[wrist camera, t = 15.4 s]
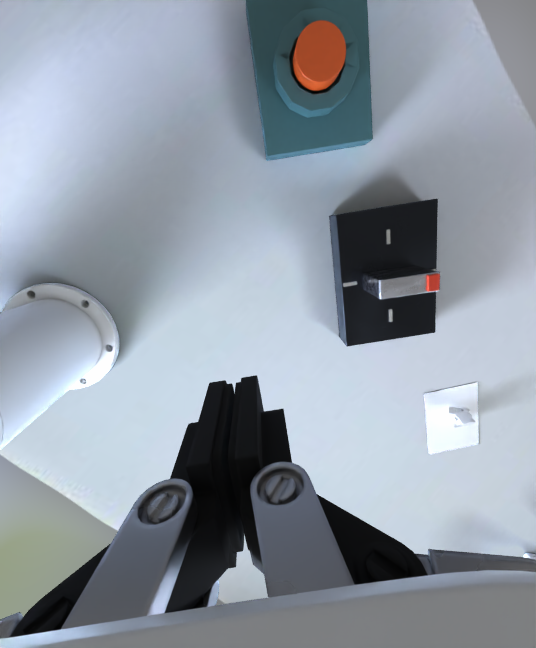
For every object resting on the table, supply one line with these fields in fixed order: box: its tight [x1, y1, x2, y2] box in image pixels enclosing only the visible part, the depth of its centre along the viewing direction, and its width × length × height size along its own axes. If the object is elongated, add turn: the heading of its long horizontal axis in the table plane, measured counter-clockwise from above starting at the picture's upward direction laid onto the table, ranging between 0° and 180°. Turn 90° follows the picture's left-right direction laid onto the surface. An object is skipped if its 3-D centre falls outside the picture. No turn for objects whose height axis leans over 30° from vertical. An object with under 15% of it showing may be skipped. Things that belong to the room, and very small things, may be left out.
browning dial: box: [363, 266, 440, 299], centre depth 30 cm, size 6×2×5 cm, turn 98°
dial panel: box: [329, 199, 438, 346], centre depth 33 cm, size 14×10×3 cm
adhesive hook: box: [447, 406, 477, 429], centre depth 40 cm, size 3×3×3 cm
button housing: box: [246, 0, 373, 161], centre depth 27 cm, size 12×10×4 cm
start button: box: [293, 20, 346, 91], centre depth 25 cm, size 4×4×2 cm
